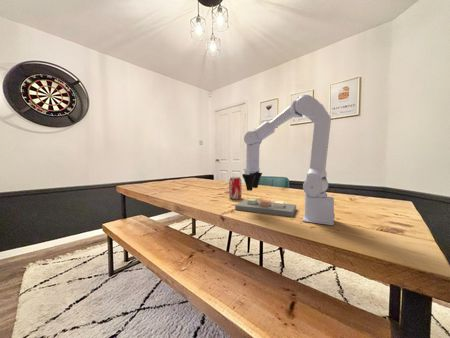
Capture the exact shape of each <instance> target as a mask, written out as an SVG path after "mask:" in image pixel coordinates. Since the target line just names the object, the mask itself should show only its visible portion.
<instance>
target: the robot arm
mask: <svg viewBox="0 0 450 338" xmlns="http://www.w3.org/2000/svg"><path fill="white" fill-rule="evenodd" d="M303 116H305V117H306V118H308V119H309V120H310V121H311V122H312V123H313V132H312V133H313V134H312V141H311V150H310V162H309V170H308V171H307V174H306V177H305V180H304V182H303V184H302V189H303V191H304V214H303V217H302V222H306V223H313V224H320V225H328V226H334V223H335V222H334V221H335V220H334V219H335V211H334V210H335V200H334V199H335V197H333V196H328V194H327V192H326V191H327V190H328V188H329V182H328V180H327V174H328V173H327V169H326V168H327V157H328V149H329V142H330V141H329V140H330V132H331V126H332V125H331V122H332V117H331V116H330V114H329V113H328V111H327V110H326V108H325V106H324V105H323V103H321V102H320V101H319V100H318V99H316V98H315V97H314V96H312V95H310V94H303V95H301V96H299V97H298V98H297V99H296V100H293V101H292V102H291V104H290V105H289V106H288V107H287V108H285V109H284V110H283V111H281V113H279V114H278V115H276V116H275V117H274V118H273V119H272V120H270V121H268V120H266V121H262V122H261V124H260V125H259V126H258V127H256V128H254V129H253V130H252V131H249V130H248V131H246V133H245V135H244V136H243V140H244V143H245V145H246V156H245V157H246V163H245V164H246V165H245V166H246V167H245V168H243V171H244V173H242V178H243V180H244V183H245V186H246V191H249V192H251V191H253V189H258V187H259V184H260V180H261V177H262V175H263V172H260V169H261V168H260V147H261V143H263V142H262V141H263V140H265V139H267V138H268V137H269V136H271V135H273V134H274V133H275V130H276V128H278V127H280V126H281V125H283V124H284V123H287V121H289V120H291V119H292V118H303Z"/></svg>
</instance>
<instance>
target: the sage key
mask: <svg viewBox="0 0 450 338" xmlns="http://www.w3.org/2000/svg"><path fill="white" fill-rule="evenodd" d="M246 200H247V204H249V205H257V204H258V201H259V200H258V199H257V198H249V199H246Z"/></svg>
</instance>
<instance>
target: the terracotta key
mask: <svg viewBox="0 0 450 338" xmlns="http://www.w3.org/2000/svg"><path fill="white" fill-rule="evenodd" d="M259 201H260V206H267V207H269V206H271V199H269V200H268V199H262V200H259Z"/></svg>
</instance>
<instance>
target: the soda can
mask: <svg viewBox="0 0 450 338" xmlns="http://www.w3.org/2000/svg"><path fill="white" fill-rule="evenodd" d="M228 188H229V189H228V190H229V191H228V196H229V198H231V199H232V200H238V199H239V200H240V199H241V198H242V188H243V187H242V179H241V177H240V176H230V178H229V180H228Z"/></svg>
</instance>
